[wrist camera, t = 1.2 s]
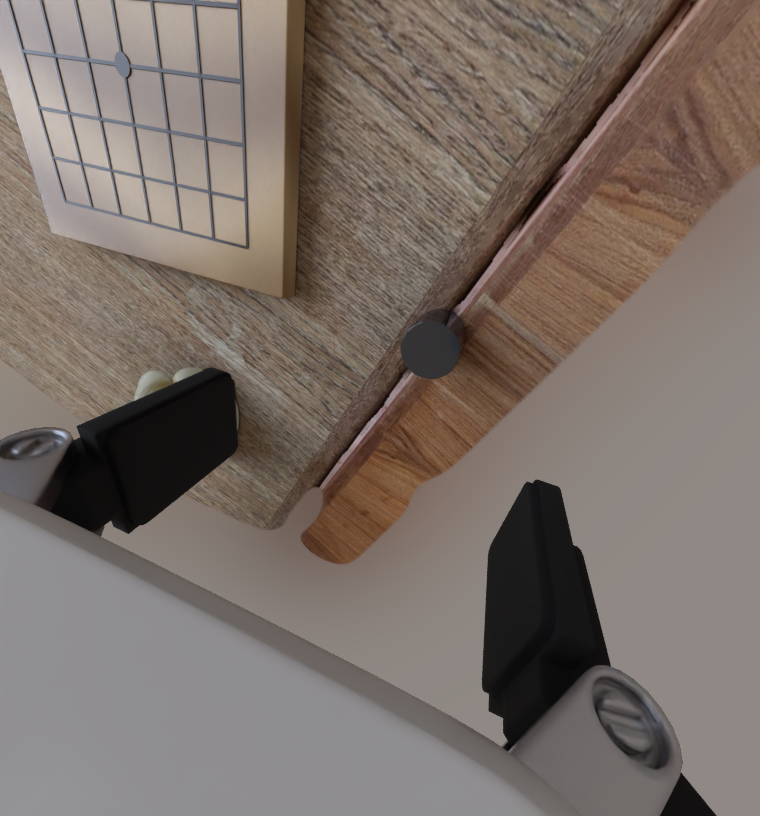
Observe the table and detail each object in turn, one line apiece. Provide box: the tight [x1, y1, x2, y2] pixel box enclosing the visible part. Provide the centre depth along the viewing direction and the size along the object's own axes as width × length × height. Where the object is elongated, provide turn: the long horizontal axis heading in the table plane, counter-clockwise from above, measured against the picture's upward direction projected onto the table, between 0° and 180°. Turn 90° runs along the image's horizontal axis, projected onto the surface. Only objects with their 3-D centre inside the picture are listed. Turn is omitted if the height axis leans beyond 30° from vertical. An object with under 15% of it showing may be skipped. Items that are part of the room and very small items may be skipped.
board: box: [0, 0, 306, 299], centre depth 18 cm, size 20×20×2 cm
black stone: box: [401, 309, 466, 379], centre depth 19 cm, size 3×3×3 cm
